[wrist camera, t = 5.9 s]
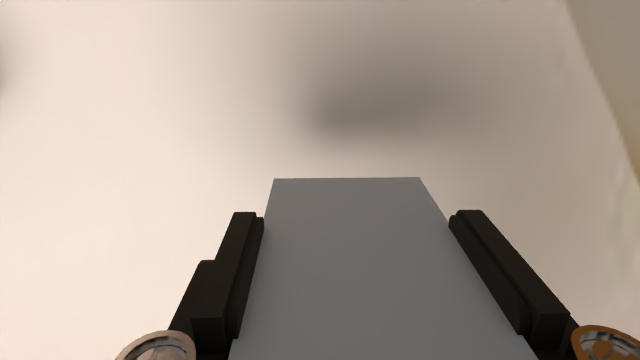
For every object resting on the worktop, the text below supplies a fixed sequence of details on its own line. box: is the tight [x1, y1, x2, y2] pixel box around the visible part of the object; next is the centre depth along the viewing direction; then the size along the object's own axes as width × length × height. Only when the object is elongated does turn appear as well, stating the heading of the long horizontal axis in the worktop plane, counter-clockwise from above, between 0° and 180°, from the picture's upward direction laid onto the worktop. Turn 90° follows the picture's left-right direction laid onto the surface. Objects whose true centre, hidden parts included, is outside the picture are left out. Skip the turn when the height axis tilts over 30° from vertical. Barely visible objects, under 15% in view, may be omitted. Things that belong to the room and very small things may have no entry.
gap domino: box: [228, 177, 538, 360], centre depth 9 cm, size 2×5×10 cm, turn 90°
